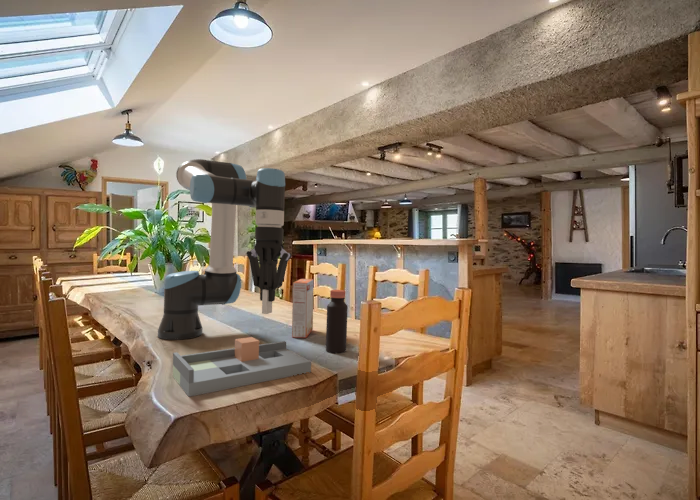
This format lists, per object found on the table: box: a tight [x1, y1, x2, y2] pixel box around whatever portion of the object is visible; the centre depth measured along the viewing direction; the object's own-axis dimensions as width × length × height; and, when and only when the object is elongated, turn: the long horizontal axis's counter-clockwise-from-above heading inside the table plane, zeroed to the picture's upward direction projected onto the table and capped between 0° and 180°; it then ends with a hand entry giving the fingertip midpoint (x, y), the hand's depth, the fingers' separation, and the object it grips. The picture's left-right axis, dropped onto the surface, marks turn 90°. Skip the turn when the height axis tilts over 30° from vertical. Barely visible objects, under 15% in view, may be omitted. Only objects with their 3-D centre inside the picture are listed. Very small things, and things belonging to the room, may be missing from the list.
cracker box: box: [291, 278, 315, 339], centre depth 150 cm, size 14×6×21 cm, turn 175°
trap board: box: [172, 340, 312, 397], centre depth 103 cm, size 16×32×6 cm, turn 127°
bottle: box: [325, 289, 349, 354], centre depth 128 cm, size 7×7×20 cm
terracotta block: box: [234, 336, 260, 362], centre depth 107 cm, size 5×5×5 cm
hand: (266, 312), depth 105 cm, fingers closed
